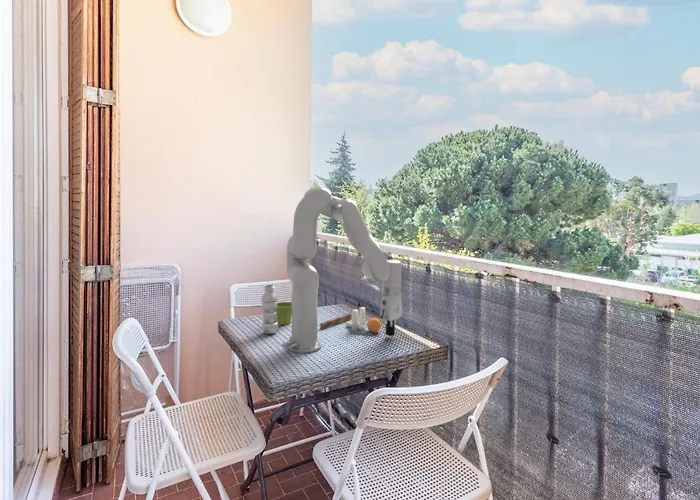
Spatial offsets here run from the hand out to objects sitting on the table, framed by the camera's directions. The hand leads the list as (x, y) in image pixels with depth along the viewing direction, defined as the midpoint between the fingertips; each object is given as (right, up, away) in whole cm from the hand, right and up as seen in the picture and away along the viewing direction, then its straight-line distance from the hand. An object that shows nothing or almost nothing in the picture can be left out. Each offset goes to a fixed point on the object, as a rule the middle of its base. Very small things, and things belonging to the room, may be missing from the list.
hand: (390, 334), depth 157 cm
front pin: (-11, +1, +8) cm, 13 cm away
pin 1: (-14, 0, +8) cm, 16 cm away
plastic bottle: (-50, 0, +3) cm, 50 cm away
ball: (-6, +3, +7) cm, 9 cm away
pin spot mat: (-11, 0, +9) cm, 14 cm away
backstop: (-22, +1, +18) cm, 29 cm away
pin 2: (-11, 0, +12) cm, 16 cm away
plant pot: (-46, +1, +17) cm, 49 cm away
